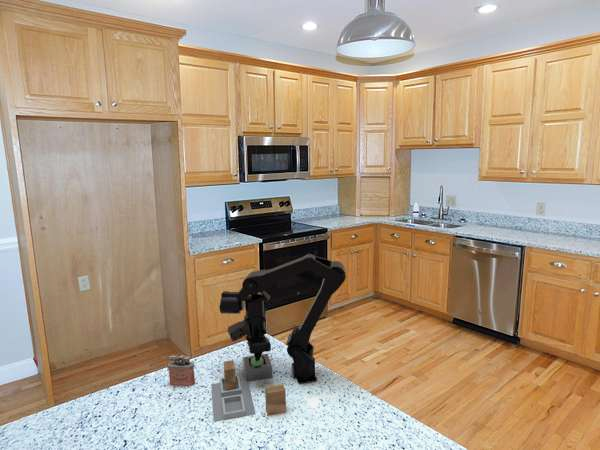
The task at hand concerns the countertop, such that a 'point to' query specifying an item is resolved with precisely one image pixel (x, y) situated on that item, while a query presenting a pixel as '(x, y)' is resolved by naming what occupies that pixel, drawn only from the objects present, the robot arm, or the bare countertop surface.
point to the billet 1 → (229, 375)
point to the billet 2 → (275, 399)
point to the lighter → (181, 371)
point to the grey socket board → (231, 400)
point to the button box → (257, 369)
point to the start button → (257, 362)
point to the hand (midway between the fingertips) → (257, 360)
